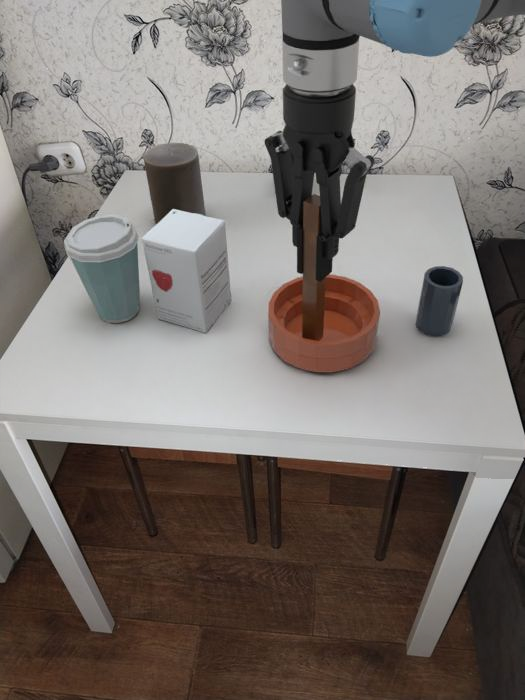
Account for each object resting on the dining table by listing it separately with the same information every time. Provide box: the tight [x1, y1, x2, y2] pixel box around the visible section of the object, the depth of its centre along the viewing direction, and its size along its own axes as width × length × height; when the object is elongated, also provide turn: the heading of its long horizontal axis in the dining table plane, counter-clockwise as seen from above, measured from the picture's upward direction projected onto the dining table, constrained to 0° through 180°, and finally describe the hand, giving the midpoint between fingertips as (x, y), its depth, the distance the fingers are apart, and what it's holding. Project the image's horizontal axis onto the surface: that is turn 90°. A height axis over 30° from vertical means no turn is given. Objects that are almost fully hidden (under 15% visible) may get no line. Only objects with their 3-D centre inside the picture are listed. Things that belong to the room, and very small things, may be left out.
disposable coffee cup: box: [63, 213, 141, 324], centre depth 89 cm, size 11×11×15 cm
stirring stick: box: [302, 193, 326, 341], centre depth 77 cm, size 2×2×22 cm
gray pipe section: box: [415, 265, 464, 338], centre depth 85 cm, size 5×5×9 cm
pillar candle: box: [143, 142, 207, 225], centre depth 107 cm, size 10×10×15 cm
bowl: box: [267, 273, 381, 373], centre depth 85 cm, size 16×16×6 cm
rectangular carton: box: [141, 209, 232, 334], centre depth 88 cm, size 9×9×15 cm
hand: (314, 271), depth 76 cm, fingers closed on stirring stick, 2 cm apart
